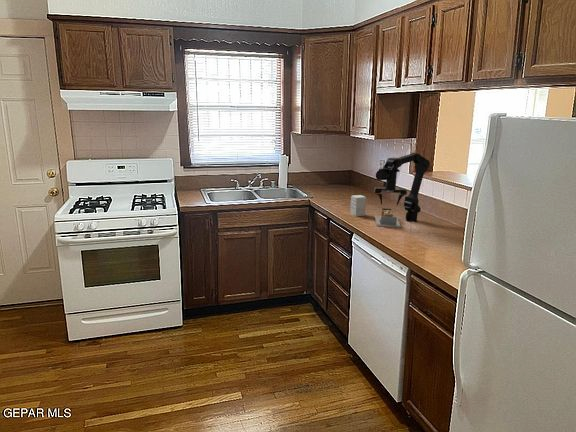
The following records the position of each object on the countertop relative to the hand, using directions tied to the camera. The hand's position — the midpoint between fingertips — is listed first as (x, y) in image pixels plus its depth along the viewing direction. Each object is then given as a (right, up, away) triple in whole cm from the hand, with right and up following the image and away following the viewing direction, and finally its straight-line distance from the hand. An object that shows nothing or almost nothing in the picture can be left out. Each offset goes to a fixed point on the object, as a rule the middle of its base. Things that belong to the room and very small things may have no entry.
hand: (389, 204), depth 268 cm
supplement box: (-16, -6, +23) cm, 29 cm away
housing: (-1, -10, +2) cm, 11 cm away
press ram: (+1, -7, +13) cm, 15 cm away
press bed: (0, -11, +7) cm, 13 cm away
